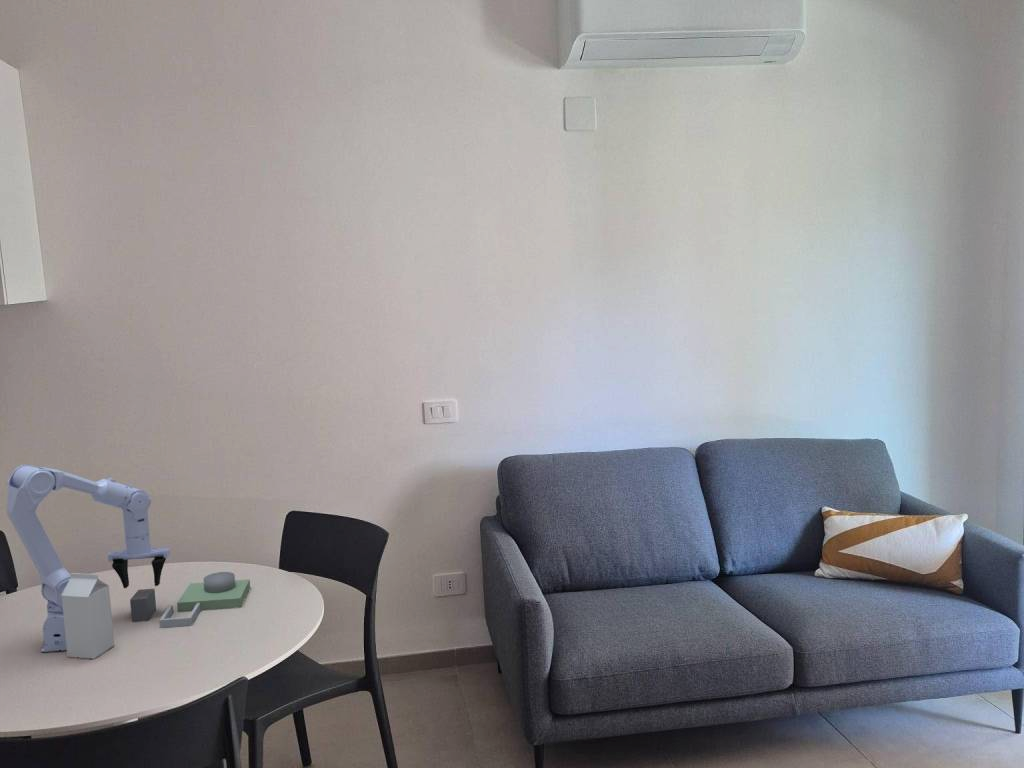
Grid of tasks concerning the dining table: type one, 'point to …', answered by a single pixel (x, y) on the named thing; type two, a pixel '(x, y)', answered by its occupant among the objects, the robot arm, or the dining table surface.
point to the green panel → (207, 598)
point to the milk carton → (87, 616)
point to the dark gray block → (143, 605)
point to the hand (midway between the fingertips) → (141, 585)
